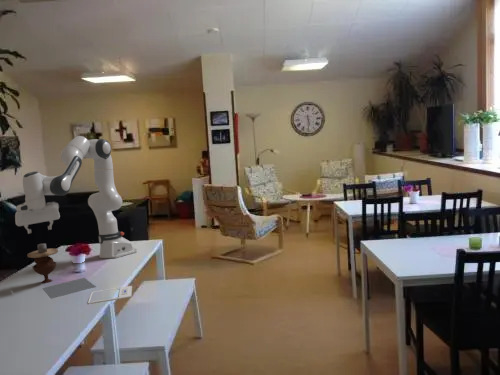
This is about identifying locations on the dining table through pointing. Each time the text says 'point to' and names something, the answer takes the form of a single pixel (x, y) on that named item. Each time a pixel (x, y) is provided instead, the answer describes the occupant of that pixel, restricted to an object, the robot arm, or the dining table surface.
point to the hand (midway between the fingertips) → (40, 231)
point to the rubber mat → (68, 287)
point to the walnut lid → (42, 251)
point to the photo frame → (124, 293)
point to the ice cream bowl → (44, 267)
